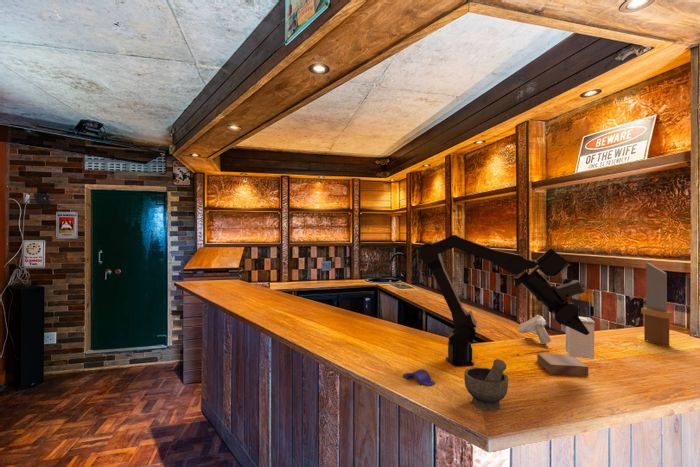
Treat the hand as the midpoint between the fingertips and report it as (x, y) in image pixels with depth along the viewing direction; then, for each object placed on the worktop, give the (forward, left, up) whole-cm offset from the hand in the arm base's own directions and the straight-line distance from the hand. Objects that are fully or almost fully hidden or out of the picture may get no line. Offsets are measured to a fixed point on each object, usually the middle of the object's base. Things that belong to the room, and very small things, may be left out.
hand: (585, 331), depth 96 cm
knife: (+56, +24, -13) cm, 63 cm away
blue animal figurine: (-46, +9, -14) cm, 48 cm away
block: (0, +9, -14) cm, 16 cm away
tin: (-1, +1, -7) cm, 7 cm away
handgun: (+14, +37, -14) cm, 42 cm away
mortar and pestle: (-36, -8, -14) cm, 39 cm away
